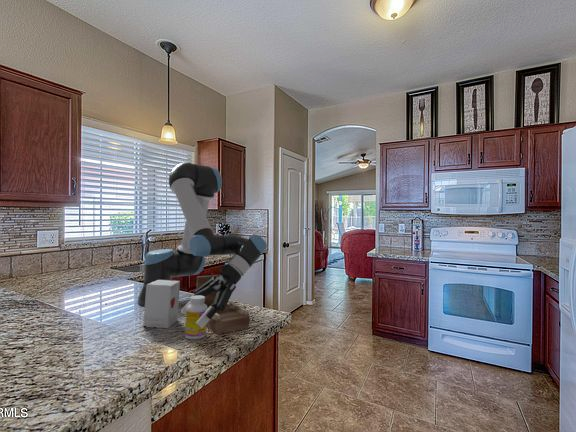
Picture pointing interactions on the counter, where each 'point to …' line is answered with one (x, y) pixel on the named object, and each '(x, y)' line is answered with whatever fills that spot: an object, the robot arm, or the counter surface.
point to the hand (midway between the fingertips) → (190, 319)
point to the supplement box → (161, 303)
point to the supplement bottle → (195, 317)
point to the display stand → (224, 312)
